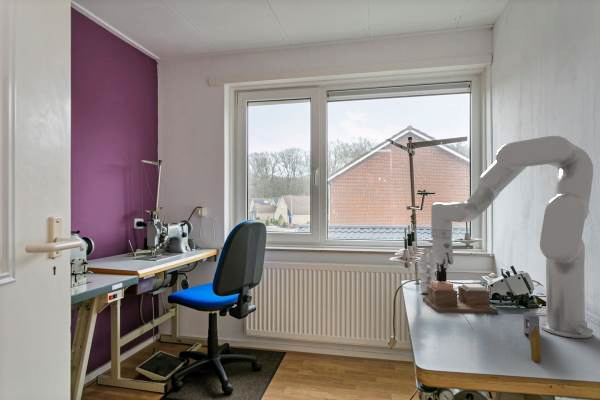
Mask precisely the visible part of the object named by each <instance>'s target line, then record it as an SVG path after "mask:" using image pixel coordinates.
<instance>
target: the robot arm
mask: <svg viewBox="0 0 600 400" xmlns="http://www.w3.org/2000/svg"><path fill="white" fill-rule="evenodd" d="M544 165H550V166H553V167H555V168H556V169H557V171H558V175H557V180H556V189H555V193H554V194H555V195H554V197H552V198H551V199H550V200H549V201H548V203H547V204H546V207H545V210H544V214H543V221H542V225H541V227H542V228H541V234H540V238H539V239H540V240H539V248H540V251H541V253H542V255H543V256H544V257H545V299H546V300H545V301H546V303H545V305H546V311H545V312H546V320H545V321H542V322H540V328H541V329H542V330H544V331H546V332H548V333H551V334H554V335H558V336H560V337H565V338H566V337H567V338H574V339H588V338H589V339H590V338H591V337H592V336H593V332H594V330H593V329H592V328H589V327H588V321H586V306H585V305H586V300H585V299H586V297H585V291H586V290H585V260H586V259H585V256H586V247H585V243H584V239H583V233H584V228H585V222H586V220H587V218H588V217H589V213H590V201H591V193H592V186H593V178H594V164H593V161H592V158H591V157H590V155H589V154H588V153H587V152H586V151H585V150H584V149H582V148H581V147H579V146H578V145H575V144H574V143H572V142H571V141H569V139H567V138H565V137H563V136H561V135H560V136H559V135H549V136H541V137H537V138H532V139H531V138H530V139H525V140H519V141H512V142H508V143H505V144H503V145H502V146H501V147H500V148H498V150H497V152H496V154H495V161H494V162H493V163H492V164H491V165H490V166H489V167H488V168H487V169H486V170H485V171H484V172H483V173H482V174H481V175H480V177H479V179H478V185H477V188H476V189H475V191H474V192H473V193H472V194H471V195H470V196H469V197H468V198H467V199H466V200H465V201H461V202H460V201H458V202H450V203H449V202H434V203H432V205H431V209H430V211H431V212H430V214H431V215H430V216H431V221H430V222H431V228H430V229H431V231H430V232H431V233H430V234H431V235H430V236H431V237H430V238H432V245H431V246H432V247H431V249H432V253H431V255H432V259H433V261H435V268H436V281H439V282H446V281H447V272H448V269H449V265H453V264H454V250H453V241H452V239H453V222H455V223H466V222H467V223H469V222H472V221H474V220H476V219H477V218H478V217H479V216H481V215H482V214H483V213H484V212H485V211H486V210H487V209H488V208H489V207H490V206H491V205H492V203H494V201H495V200H496V199H497V198H498V196H499V195H500V193H501V192H502V191H503V190H504V189H505V188H506V187H508V185H509V184H510V183H511V182H513V181H514V180H515V179H516V178H517V177H518V176H519V175H520V174H521V173H522V172H523V171H524V170H525V169H526V168H527V167H536V166H544Z"/></svg>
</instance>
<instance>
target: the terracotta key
mask: <svg viewBox="0 0 600 400" xmlns="http://www.w3.org/2000/svg"><path fill="white" fill-rule="evenodd" d="M432 287H433V288H434V289H436V290H453V289H454V283H452V282H450V281H448V280H446V282H439V281H437V280H434V281H432Z"/></svg>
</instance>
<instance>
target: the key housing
mask: <svg viewBox="0 0 600 400" xmlns="http://www.w3.org/2000/svg"><path fill="white" fill-rule="evenodd" d="M457 289H458V290H457ZM457 289H455V288H453V290H436V289H434V288H433V287H432V286H428V294H427V296H422V301H423V302H424V303H425V304H426V305H427V306H429V307H430V308H431V309H432V310H433V311H435V313H438V314H439V313H445V314H446V313H449V314H450V313H452V314H453V313H455V314H456V313H459V314H463V313H464V314H465V313H466V314H499V308H497V307H494V305H491V304H490V303H491V296H490V295H491V293H490V290H488V289H486V288H485V291H469V290H467V289H465V288H463V287H462V285H458V286H457Z"/></svg>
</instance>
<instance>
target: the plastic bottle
mask: <svg viewBox="0 0 600 400" xmlns="http://www.w3.org/2000/svg"><path fill="white" fill-rule="evenodd" d="M419 264H420V272H421V273H420V284H419V289H420V290H419V291H420V292H421V293H422V294H425V295H428V286H432V281H435V273H434V272H435V268H436V264H435V261H433V259H432V248H427V247H426V248H422V255H421V257H420V259H419Z"/></svg>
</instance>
